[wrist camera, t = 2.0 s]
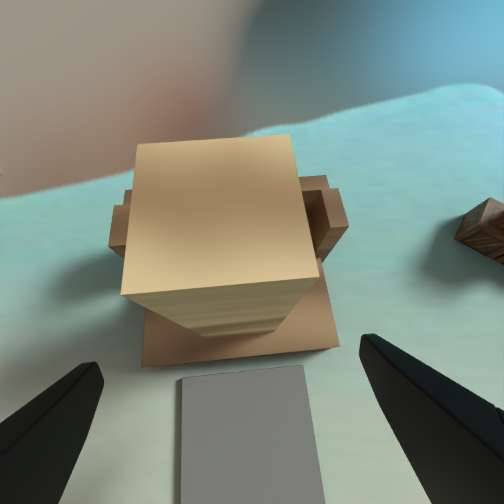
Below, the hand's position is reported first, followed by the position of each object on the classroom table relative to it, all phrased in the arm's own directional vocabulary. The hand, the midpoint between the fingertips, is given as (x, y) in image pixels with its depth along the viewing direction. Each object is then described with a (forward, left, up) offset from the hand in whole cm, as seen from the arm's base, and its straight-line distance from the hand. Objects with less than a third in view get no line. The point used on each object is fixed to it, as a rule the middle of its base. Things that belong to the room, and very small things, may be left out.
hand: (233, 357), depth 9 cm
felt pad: (-3, -5, -12) cm, 13 cm away
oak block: (+2, +4, -10) cm, 11 cm away
